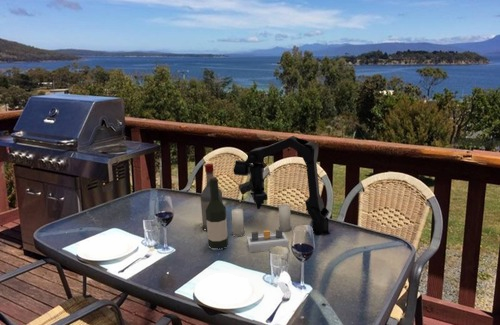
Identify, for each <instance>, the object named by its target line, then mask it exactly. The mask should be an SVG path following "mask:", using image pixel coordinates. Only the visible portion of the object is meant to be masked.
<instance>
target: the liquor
mask: <svg viewBox="0 0 500 325" xmlns="http://www.w3.org/2000/svg"><path fill="white" fill-rule="evenodd" d="M204 169H205V170H204V171H205V174H206V175H205V176H206V185H205V187H204V188H203V189H202V192H201V194H200V207H201V220H202V228H204V229H206V230H207V220H206V209H207V207H208V205H209V203H210V201H211V194H210V181H209V180H210V178H211V177H214V171H215V170H214V164H213V163H207V164H205V165H204ZM218 190H219V199H220V200H221V202H222V203H223V204H224V202H223V192H222V190H221V189H220V188H219V187H218ZM204 229H203V230H204ZM206 230H205V231H206Z"/></svg>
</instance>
